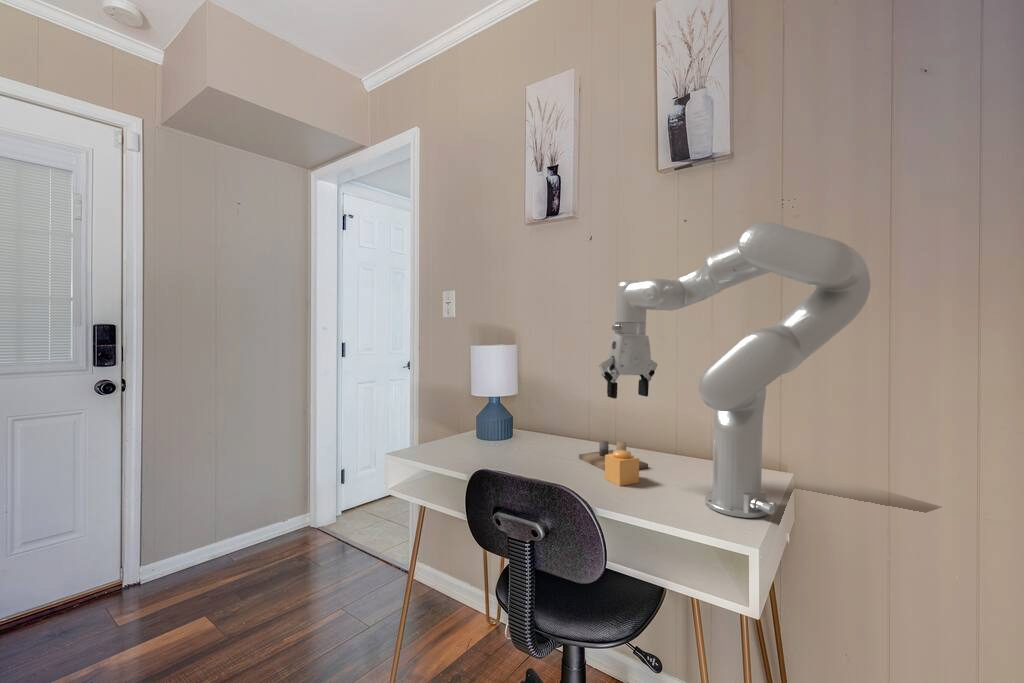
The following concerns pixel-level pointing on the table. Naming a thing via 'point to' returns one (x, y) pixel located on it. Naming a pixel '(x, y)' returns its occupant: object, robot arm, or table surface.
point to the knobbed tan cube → (621, 468)
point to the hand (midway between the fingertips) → (627, 396)
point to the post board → (601, 460)
